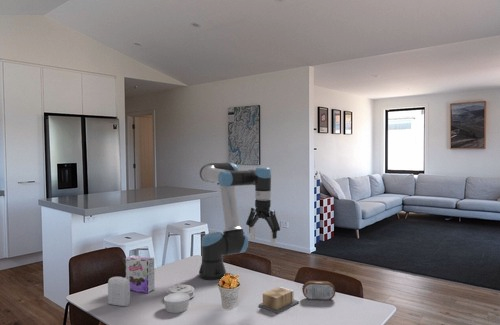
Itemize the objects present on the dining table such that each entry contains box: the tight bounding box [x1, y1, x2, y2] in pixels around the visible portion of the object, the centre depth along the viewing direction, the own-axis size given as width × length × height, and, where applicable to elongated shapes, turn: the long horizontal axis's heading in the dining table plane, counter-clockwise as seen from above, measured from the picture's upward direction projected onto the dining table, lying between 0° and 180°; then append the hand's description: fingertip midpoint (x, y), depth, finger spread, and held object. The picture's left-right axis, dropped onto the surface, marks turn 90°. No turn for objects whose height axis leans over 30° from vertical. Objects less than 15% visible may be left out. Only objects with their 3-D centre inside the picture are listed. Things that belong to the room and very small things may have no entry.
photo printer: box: [107, 276, 131, 307], centre depth 167 cm, size 10×4×12 cm, turn 72°
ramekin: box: [163, 293, 191, 314], centre depth 161 cm, size 11×11×5 cm
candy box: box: [124, 255, 156, 294], centre depth 184 cm, size 14×6×16 cm, turn 68°
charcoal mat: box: [258, 299, 300, 314], centre depth 165 cm, size 11×15×1 cm
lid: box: [166, 283, 195, 299], centre depth 175 cm, size 13×13×5 cm
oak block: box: [262, 286, 295, 310], centre depth 164 cm, size 8×5×12 cm
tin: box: [302, 280, 336, 301], centre depth 170 cm, size 15×3×8 cm, turn 84°
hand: (262, 242), depth 180 cm, fingers open, 13 cm apart
